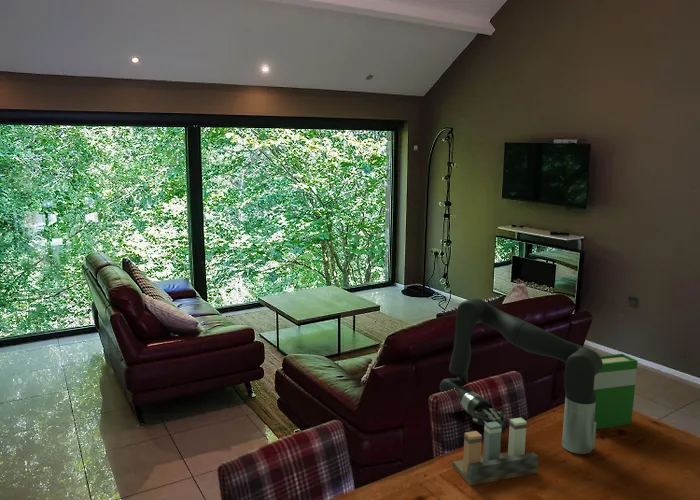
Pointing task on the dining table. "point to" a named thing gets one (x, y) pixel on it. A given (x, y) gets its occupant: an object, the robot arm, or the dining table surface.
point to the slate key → (492, 441)
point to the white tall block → (517, 437)
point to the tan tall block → (471, 449)
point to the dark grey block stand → (498, 468)
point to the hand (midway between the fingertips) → (503, 428)
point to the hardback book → (615, 391)
